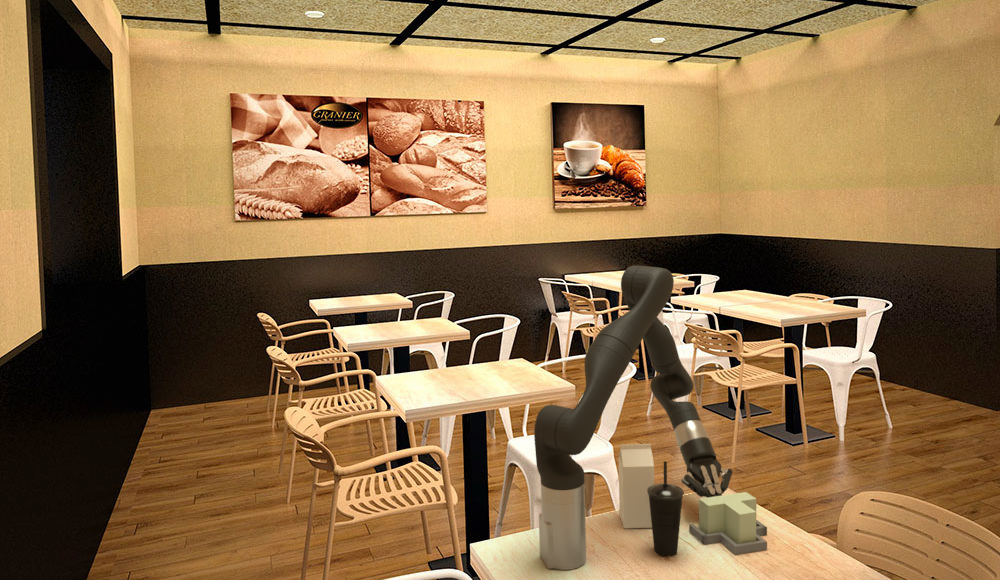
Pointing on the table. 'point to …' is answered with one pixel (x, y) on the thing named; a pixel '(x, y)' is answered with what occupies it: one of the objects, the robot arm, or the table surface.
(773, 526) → the table surface
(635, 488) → the milk carton
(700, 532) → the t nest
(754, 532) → the t block
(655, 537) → the drinking cup
